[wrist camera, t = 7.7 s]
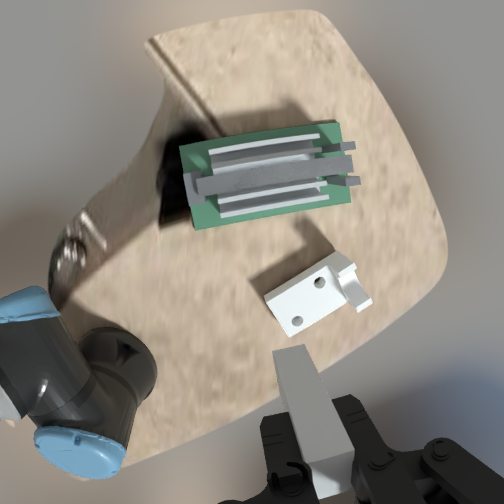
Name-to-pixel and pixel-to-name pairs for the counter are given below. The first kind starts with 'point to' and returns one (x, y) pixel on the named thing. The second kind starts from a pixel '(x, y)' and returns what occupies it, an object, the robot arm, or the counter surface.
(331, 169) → the strap
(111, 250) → the counter surface
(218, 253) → the counter surface
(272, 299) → the bracket
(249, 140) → the heatsink board
